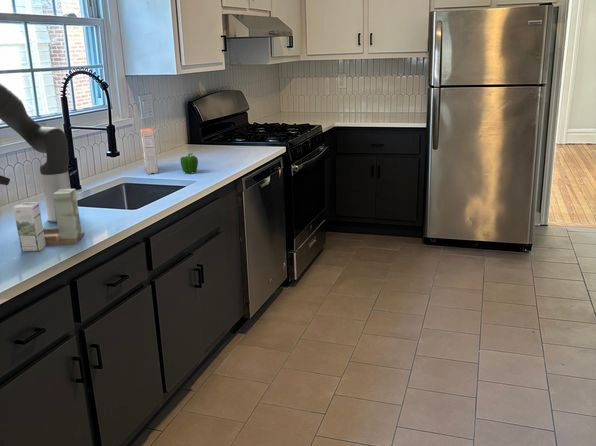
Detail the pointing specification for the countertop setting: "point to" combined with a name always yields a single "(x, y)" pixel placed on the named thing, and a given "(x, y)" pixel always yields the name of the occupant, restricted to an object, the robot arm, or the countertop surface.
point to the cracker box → (149, 150)
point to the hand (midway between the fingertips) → (7, 182)
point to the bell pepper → (189, 163)
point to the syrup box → (29, 226)
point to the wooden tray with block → (65, 219)
